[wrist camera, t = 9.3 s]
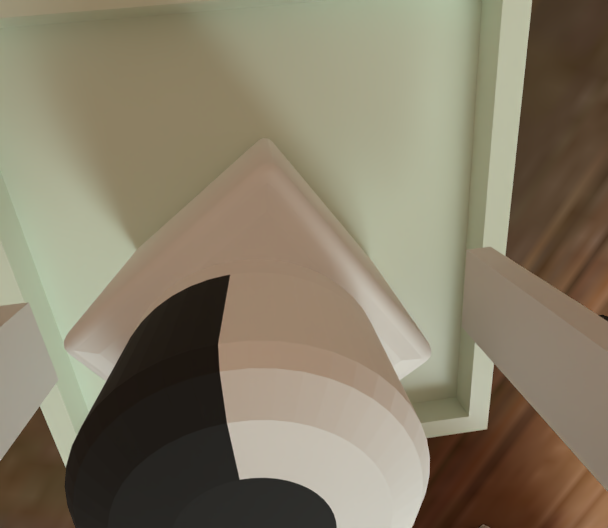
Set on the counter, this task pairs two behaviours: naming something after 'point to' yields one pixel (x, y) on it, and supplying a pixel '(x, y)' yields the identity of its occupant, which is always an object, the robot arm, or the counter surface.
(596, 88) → the counter surface
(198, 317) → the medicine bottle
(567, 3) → the counter surface
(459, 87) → the tray
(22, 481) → the counter surface
